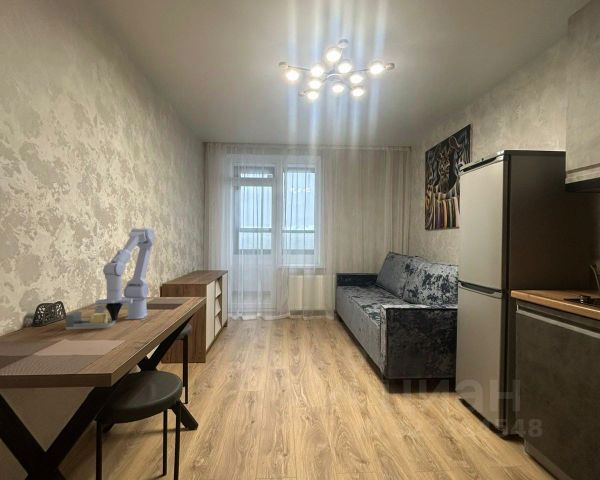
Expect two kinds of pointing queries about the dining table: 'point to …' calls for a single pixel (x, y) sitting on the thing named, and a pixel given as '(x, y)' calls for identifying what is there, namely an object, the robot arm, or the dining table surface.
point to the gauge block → (99, 318)
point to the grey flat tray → (91, 325)
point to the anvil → (73, 319)
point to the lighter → (100, 309)
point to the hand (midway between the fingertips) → (114, 320)
